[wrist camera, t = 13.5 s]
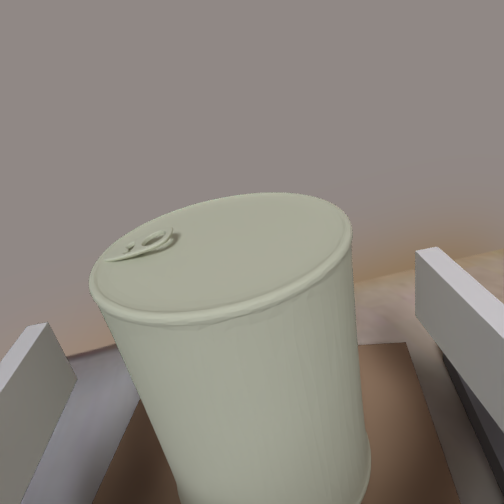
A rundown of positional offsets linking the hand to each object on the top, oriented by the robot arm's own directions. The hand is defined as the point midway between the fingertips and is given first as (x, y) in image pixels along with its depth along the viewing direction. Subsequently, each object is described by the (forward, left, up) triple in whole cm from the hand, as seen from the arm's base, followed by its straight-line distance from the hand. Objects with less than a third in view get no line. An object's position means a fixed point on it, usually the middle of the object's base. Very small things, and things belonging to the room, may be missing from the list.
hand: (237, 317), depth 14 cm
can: (0, +1, -9) cm, 9 cm away
